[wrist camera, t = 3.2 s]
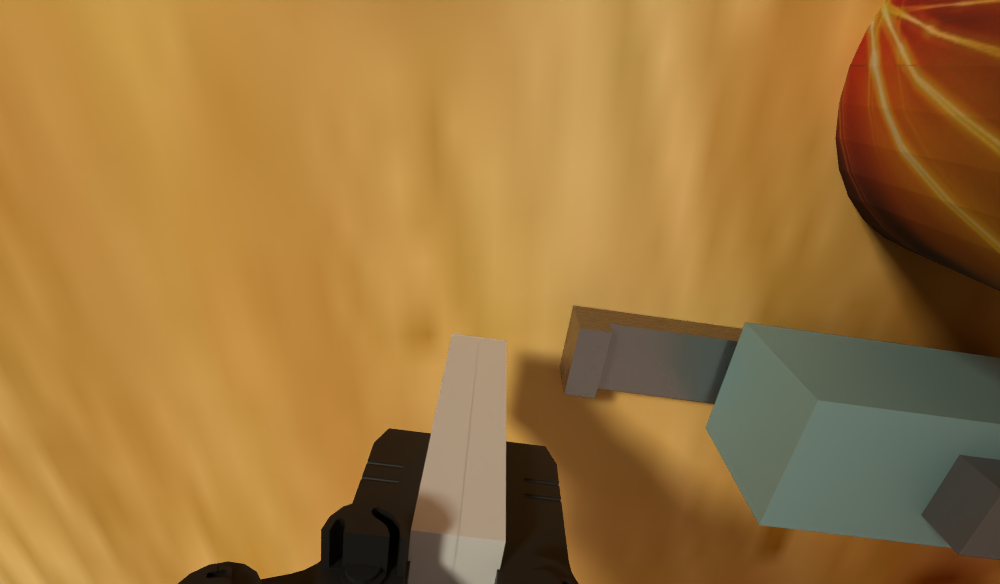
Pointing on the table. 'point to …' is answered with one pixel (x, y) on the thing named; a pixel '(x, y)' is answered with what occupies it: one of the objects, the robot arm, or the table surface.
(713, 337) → the rail
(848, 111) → the mug
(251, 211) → the table surface
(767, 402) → the latch block
